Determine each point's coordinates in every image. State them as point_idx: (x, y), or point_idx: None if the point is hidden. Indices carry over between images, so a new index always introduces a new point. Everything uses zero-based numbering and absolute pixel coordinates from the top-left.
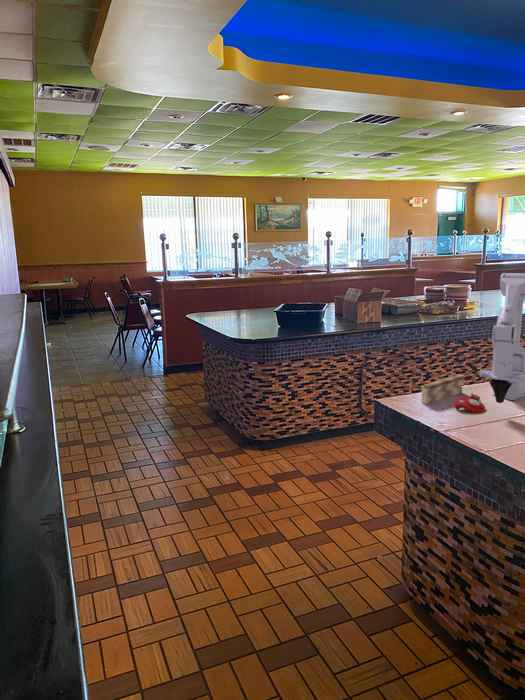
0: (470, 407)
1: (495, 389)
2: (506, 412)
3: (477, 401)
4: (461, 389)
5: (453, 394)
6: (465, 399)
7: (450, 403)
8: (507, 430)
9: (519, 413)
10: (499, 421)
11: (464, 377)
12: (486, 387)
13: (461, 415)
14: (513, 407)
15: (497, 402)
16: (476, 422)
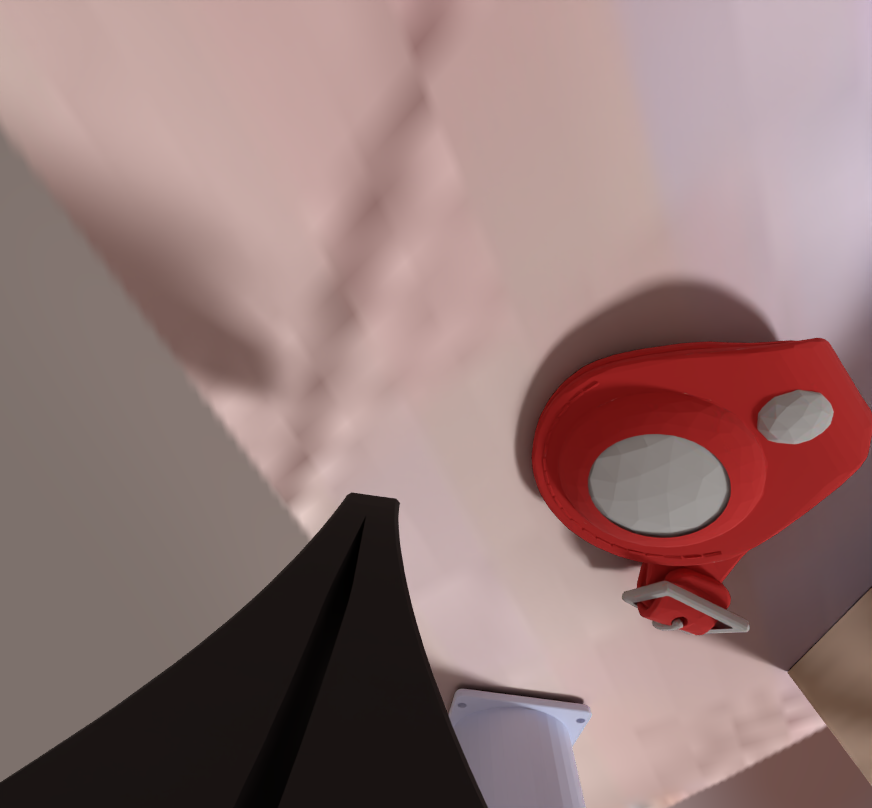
0: (654, 383)
1: (358, 663)
2: None
3: (630, 521)
4: (812, 695)
5: (853, 619)
6: (763, 494)
7: None
8: (105, 98)
9: None
10: (316, 307)
11: None
12: (657, 767)
13: (690, 209)
14: None
15: (381, 497)
16: (467, 96)
